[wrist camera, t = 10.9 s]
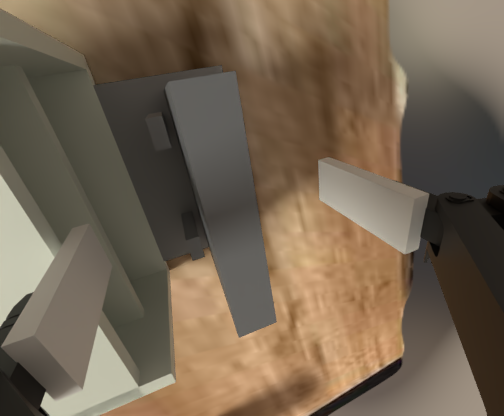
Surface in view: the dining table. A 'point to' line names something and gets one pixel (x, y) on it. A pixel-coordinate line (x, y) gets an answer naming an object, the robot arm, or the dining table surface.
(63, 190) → the cabinet
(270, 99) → the dining table surface
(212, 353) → the dining table surface
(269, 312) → the grey rectangular panel
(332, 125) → the dining table surface
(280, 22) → the dining table surface
